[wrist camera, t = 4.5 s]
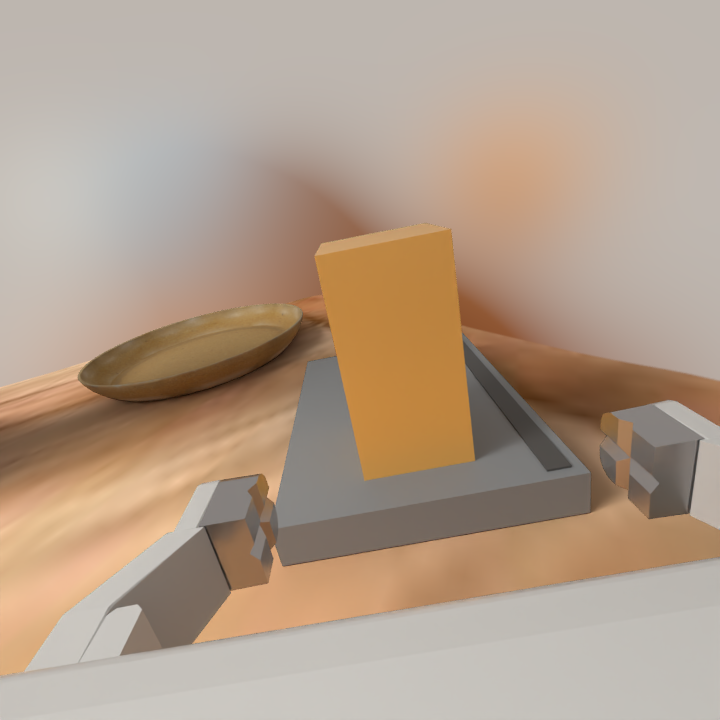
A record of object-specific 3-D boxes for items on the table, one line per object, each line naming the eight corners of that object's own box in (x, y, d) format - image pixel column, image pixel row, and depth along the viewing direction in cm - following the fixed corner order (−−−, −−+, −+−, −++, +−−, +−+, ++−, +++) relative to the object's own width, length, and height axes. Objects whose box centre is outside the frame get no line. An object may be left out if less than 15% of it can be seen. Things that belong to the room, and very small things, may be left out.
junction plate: (590, 512, 17) (593, 329, 14) (282, 566, 17) (225, 399, 15) (464, 354, 35) (454, 259, 32) (313, 383, 35) (290, 291, 32)
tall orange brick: (364, 480, 18) (314, 256, 15) (360, 424, 23) (321, 243, 20) (475, 460, 18) (451, 229, 15) (448, 408, 23) (425, 222, 19)
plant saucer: (92, 447, 32) (74, 410, 31) (88, 375, 52) (77, 351, 51) (347, 346, 44) (341, 316, 42) (265, 318, 63) (259, 297, 62)
